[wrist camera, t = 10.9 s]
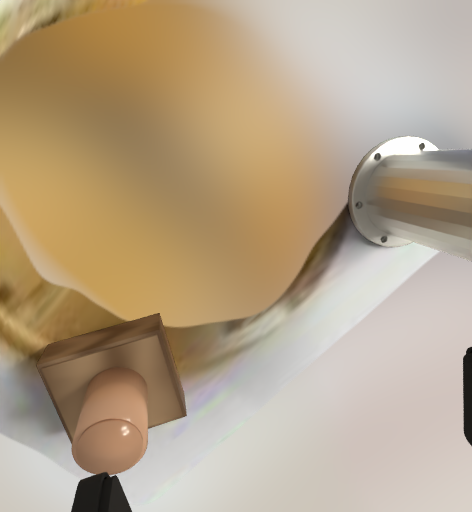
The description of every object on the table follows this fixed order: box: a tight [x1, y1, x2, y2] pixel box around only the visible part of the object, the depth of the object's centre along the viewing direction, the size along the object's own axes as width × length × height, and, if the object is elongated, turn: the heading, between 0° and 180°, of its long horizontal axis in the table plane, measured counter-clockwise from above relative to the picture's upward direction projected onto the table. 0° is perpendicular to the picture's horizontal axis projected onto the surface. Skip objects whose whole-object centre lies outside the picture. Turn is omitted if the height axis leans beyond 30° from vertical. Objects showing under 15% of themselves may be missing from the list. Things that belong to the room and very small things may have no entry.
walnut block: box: [36, 313, 187, 444], centre depth 38 cm, size 12×11×4 cm
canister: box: [72, 367, 148, 475], centre depth 33 cm, size 6×6×7 cm
